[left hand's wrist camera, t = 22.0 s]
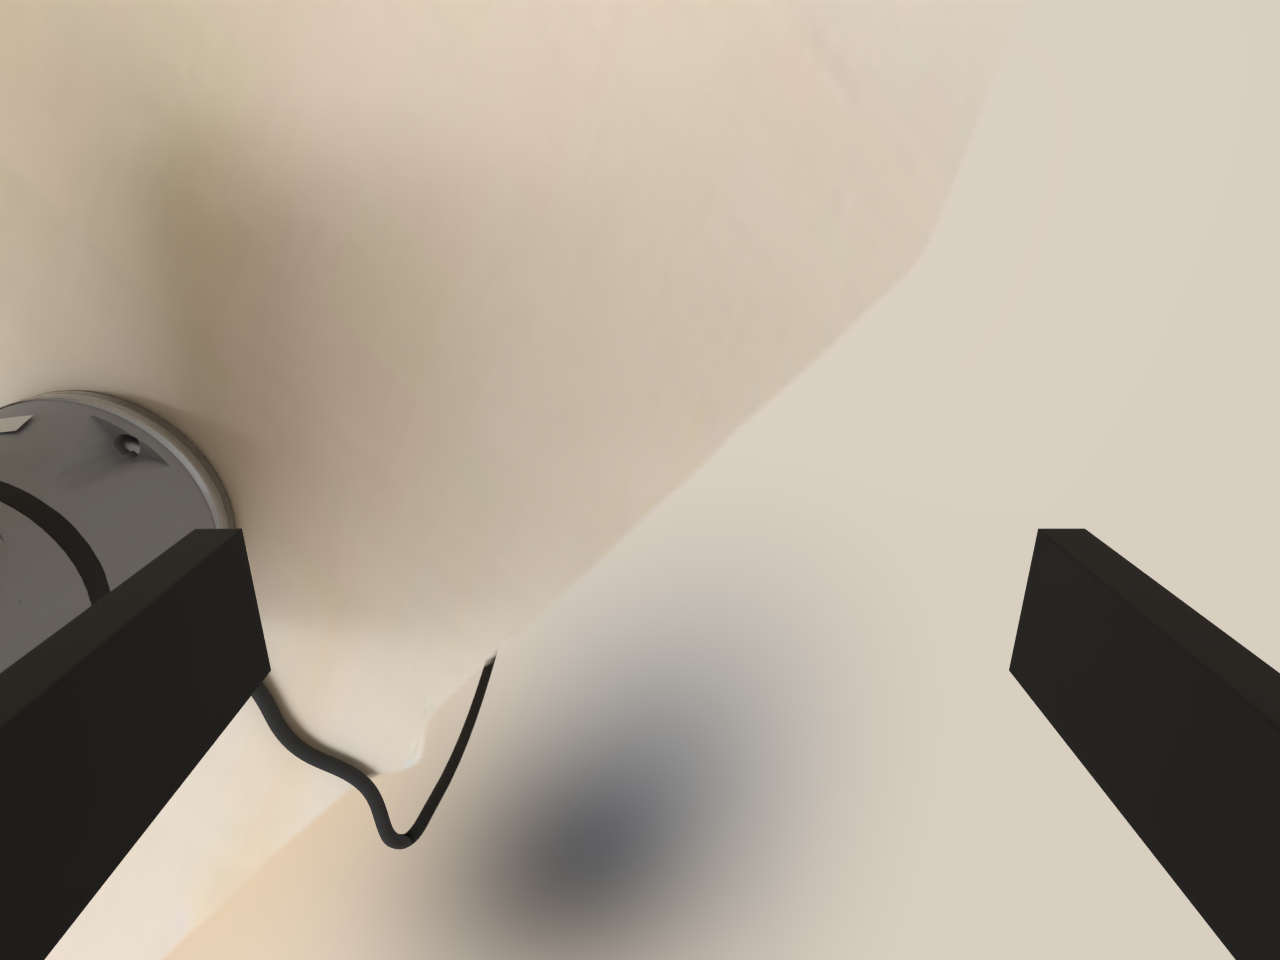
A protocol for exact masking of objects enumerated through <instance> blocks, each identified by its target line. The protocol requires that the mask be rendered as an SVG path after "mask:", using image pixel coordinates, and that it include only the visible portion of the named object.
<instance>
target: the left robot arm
mask: <svg viewBox="0 0 1280 960" xmlns="http://www.w3.org/2000/svg"><path fill="white" fill-rule="evenodd" d="M496 656H497V654H496V655H495V656H494V657H492V658H491V659H489V660H488V661H487V662H486V664H485V665H484V668H483V671H482V674H481V677H480V680H479V683H478V686H477V689H476V693H475V695H474V698H473V701H472V704H471V707H470V710H469V713H468V715H467V718H466V720H465V723H464V726H463V728H462V731H461V733H460V736H459V738H458V740H457V743H456V745H455V747H454V750H453V752H452V754H451V756H450V758H449V761H448V763H447V765H446V767H445V769H444V771H443V773H442V775H441V777H440V779H439V780H438V782H437V784H436V786H435V787H434V789H433V791H432V793H431V795H430V796H429V798H428V800H427V802H426V803H425V805H424V807H423V809H422V810H421V812H420V814H419V816H418V818H417V819H416V821H415V823H414V824H413V826H412V827H411V828H410V829H409V830H408V831H407V832H406V833H405V834H397V833H396V832H395V831H394V829H393V827H392V825H391V822H390V819H389V816H388V812H387V809H386V806H385V803H384V801H383V798H382V796H381V794H380V792H379V791H378V789H377V787H376V786H375V784H374V783H373V782H372V781H371V780H370V779H369V778H368V777H367V776H366V775H365V774H363V773H362V772H361V771H359V770H358V769H356V768H355V767H353V766H351V765H349V764H347V763H345V762H343V761H341V760H339V759H336V758H334V757H332V756H329V755H327V754H325V753H322V752H320V751H318V750H316V749H314V748H313V747H311V746H309V745H308V744H306V743H305V742H304V741H302V740H301V739H300V738H299V737H298V736H297V735H296V734H295V733H294V732H293V731H292V730H291V729H290V727H289V726H288V725H287V723H286V722H285V720H284V719H283V717H282V715H281V713H280V711H279V709H278V707H277V705H276V703H275V702H274V700H273V698H272V696H271V694H270V693H269V691H268V690H267V688H266V687H265V685H264V684H263V683H262V681H263V680H264V678H265V677H266V676H267V675H268V673H269V672H270V671H271V668H270V663H269V659H268V654H267V649H266V644H265V639H264V634H263V629H262V625H261V620H260V615H259V610H258V605H257V600H256V595H255V591H254V586H253V581H252V576H251V571H250V566H249V562H248V557H247V552H246V547H245V542H244V537H243V532H242V529H235V523H234V518H233V513H232V509H231V505H230V502H229V499H228V497H227V494H226V491H225V489H224V487H223V485H222V483H221V481H220V479H219V478H218V476H217V474H216V473H215V471H214V469H213V468H212V466H211V465H210V464H209V462H208V461H207V460H206V458H205V457H204V456H203V455H202V453H201V452H200V451H199V450H198V449H197V448H196V447H195V446H194V445H193V444H192V443H191V442H190V441H189V440H188V439H187V438H186V437H185V436H184V435H183V434H182V433H180V432H179V431H178V430H177V429H176V428H174V427H173V426H172V425H170V424H169V423H167V422H166V421H164V420H163V419H161V418H160V417H158V416H156V415H155V414H153V413H151V412H150V411H148V410H146V409H144V408H142V407H140V406H138V405H135V404H133V403H130V402H128V401H125V400H122V399H119V398H116V397H112V396H109V395H104V394H99V393H93V392H86V391H57V392H51V393H45V394H41V395H37V396H34V397H30V398H27V399H24V400H21V401H18V402H15V403H12V404H9V405H6V406H4V407H1V408H0V960H44V959H45V958H46V957H47V956H48V954H49V953H50V952H51V950H52V949H53V948H54V947H55V945H56V944H57V943H58V942H59V940H60V939H61V938H62V936H63V935H64V934H65V933H66V931H67V930H68V929H69V927H70V926H71V925H72V924H73V922H74V921H75V920H76V919H77V917H78V916H79V915H80V913H81V912H82V911H83V910H84V908H85V907H86V906H87V905H88V903H89V902H90V901H91V899H92V898H93V897H94V896H95V894H96V893H97V892H98V890H99V889H100V888H101V887H102V885H103V884H104V883H105V882H106V880H107V879H108V878H109V876H110V875H111V874H112V873H113V871H114V870H115V869H116V867H117V866H118V865H119V864H120V862H121V861H122V860H123V859H124V857H125V856H126V855H127V853H128V852H129V851H130V850H131V848H132V847H133V846H134V844H135V843H136V842H137V841H138V839H139V838H140V837H141V836H142V834H143V833H144V832H145V830H146V829H147V828H148V827H149V825H150V824H151V823H152V821H153V820H154V819H155V818H156V816H157V815H158V814H159V813H160V811H161V810H162V809H163V807H164V806H165V805H166V804H167V802H168V801H169V800H170V799H171V797H172V796H173V795H174V793H175V792H176V791H177V790H178V788H179V787H180V786H181V784H182V783H183V782H184V781H185V779H186V778H187V777H188V776H189V774H190V773H191V772H192V770H193V769H194V768H195V767H196V765H197V764H198V763H199V761H200V760H201V759H202V758H203V756H204V755H205V754H206V753H207V751H208V750H209V749H210V747H211V746H212V745H213V744H214V742H215V741H216V740H217V738H218V737H219V736H220V735H221V733H222V732H223V731H224V730H225V728H226V727H227V726H228V724H229V723H230V722H231V721H232V719H233V718H234V717H235V716H236V714H237V713H238V712H239V710H240V709H241V708H242V707H243V705H244V704H245V703H246V701H247V700H248V699H249V698H250V696H252V697H253V699H254V700H255V702H256V703H257V705H258V707H259V708H260V710H261V712H262V714H263V716H264V718H265V720H266V722H267V724H268V725H269V727H270V729H271V730H272V732H273V733H274V735H275V736H276V738H277V739H278V740H279V741H280V742H281V743H282V745H283V746H284V747H285V748H287V749H288V750H289V751H290V752H291V753H292V754H294V755H295V756H297V757H298V758H300V759H301V760H303V761H305V762H306V763H308V764H310V765H312V766H315V767H317V768H319V769H321V770H324V771H326V772H329V773H331V774H333V775H336V776H338V777H340V778H342V779H344V780H345V781H347V782H349V783H350V784H352V785H353V786H354V787H355V788H357V789H358V790H359V791H360V792H361V793H362V794H363V796H364V797H365V799H366V800H367V802H368V804H369V806H370V808H371V811H372V814H373V817H374V820H375V824H376V827H377V829H378V832H379V835H380V837H381V839H382V840H383V842H384V843H385V844H386V845H387V846H389V847H391V848H394V849H404V848H407V847H409V846H411V845H412V844H414V843H415V842H416V841H417V840H418V839H419V838H420V836H421V835H422V834H423V832H424V831H425V829H426V827H427V825H428V824H429V822H430V820H431V818H432V816H433V814H434V812H435V810H436V809H437V807H438V805H439V803H440V801H441V799H442V797H443V796H444V794H445V792H446V790H447V788H448V786H449V784H450V782H451V780H452V778H453V776H454V774H455V772H456V769H457V767H458V765H459V763H460V761H461V758H462V756H463V753H464V751H465V748H466V746H467V744H468V741H469V739H470V736H471V733H472V730H473V728H474V725H475V722H476V719H477V716H478V714H479V711H480V708H481V705H482V702H483V699H484V695H485V692H486V689H487V686H488V682H489V679H490V676H491V673H492V669H493V666H494V662H495V659H496ZM1009 671H1010V672H1011V673H1012V675H1013V676H1014V677H1015V678H1016V680H1017V681H1018V682H1019V684H1020V685H1021V686H1022V687H1023V689H1024V690H1025V691H1026V693H1027V694H1028V695H1029V696H1030V698H1031V699H1032V700H1033V701H1034V703H1035V704H1036V705H1037V707H1038V708H1039V709H1040V710H1041V712H1042V713H1043V714H1044V716H1045V717H1046V718H1047V719H1048V720H1049V722H1050V723H1051V724H1052V726H1053V727H1054V728H1055V730H1056V731H1057V732H1058V733H1059V735H1060V736H1061V737H1062V738H1063V740H1064V741H1065V742H1066V744H1067V745H1068V746H1069V747H1070V749H1071V750H1072V751H1073V753H1074V754H1075V755H1076V756H1077V758H1078V759H1079V760H1080V761H1081V763H1082V764H1083V765H1084V767H1085V768H1086V769H1087V770H1088V772H1089V773H1090V774H1091V776H1092V777H1093V778H1094V779H1095V781H1096V782H1097V783H1098V784H1099V786H1100V787H1101V788H1102V790H1103V791H1104V792H1105V793H1106V795H1107V796H1108V797H1109V799H1110V800H1111V801H1112V802H1113V804H1114V805H1115V806H1116V807H1117V809H1118V810H1119V811H1120V812H1121V814H1122V815H1123V816H1124V818H1125V819H1126V820H1127V822H1128V823H1129V824H1130V825H1131V827H1132V828H1133V829H1134V830H1135V832H1136V833H1137V834H1138V836H1139V837H1140V838H1141V839H1142V841H1143V842H1144V843H1145V844H1146V846H1147V847H1148V848H1149V850H1150V851H1151V852H1152V853H1153V855H1154V856H1155V857H1156V859H1157V860H1158V861H1159V862H1160V864H1161V865H1162V866H1163V867H1164V869H1165V870H1166V871H1167V873H1168V874H1169V875H1170V876H1171V878H1172V879H1173V880H1174V882H1175V883H1176V884H1177V885H1178V887H1179V888H1180V889H1181V890H1182V892H1183V893H1184V894H1185V896H1186V897H1187V898H1188V899H1189V901H1190V902H1191V903H1192V905H1193V906H1194V907H1195V908H1196V910H1197V911H1198V912H1199V913H1200V915H1201V916H1202V917H1203V919H1204V920H1205V921H1206V922H1207V924H1208V925H1209V926H1210V927H1211V929H1212V930H1213V931H1214V933H1215V934H1216V935H1217V936H1218V938H1219V939H1220V940H1221V942H1222V943H1223V944H1224V945H1225V947H1226V948H1227V949H1228V950H1229V952H1230V953H1231V954H1232V956H1233V957H1234V958H1235V959H1236V960H1280V673H1279V672H1277V671H1276V670H1275V669H1273V668H1272V667H1270V666H1269V665H1268V664H1266V663H1265V662H1264V661H1262V660H1261V659H1260V658H1258V657H1257V656H1256V655H1254V654H1253V653H1252V652H1250V651H1249V650H1248V649H1246V648H1245V647H1243V646H1242V645H1241V644H1239V643H1238V642H1237V641H1235V640H1234V639H1233V638H1231V637H1230V636H1229V635H1227V634H1226V633H1225V632H1223V631H1222V630H1221V629H1219V628H1218V627H1217V626H1215V625H1214V624H1213V623H1211V622H1210V621H1208V620H1207V619H1206V618H1204V617H1203V616H1202V615H1200V614H1199V613H1198V612H1196V611H1195V610H1194V609H1192V608H1191V607H1190V606H1188V605H1187V604H1186V603H1184V602H1183V601H1182V600H1180V599H1179V598H1177V597H1176V596H1175V595H1173V594H1172V593H1171V592H1169V591H1168V590H1167V589H1165V588H1164V587H1163V586H1161V585H1160V584H1159V583H1157V582H1156V581H1155V580H1153V579H1152V578H1150V577H1149V576H1148V575H1146V574H1145V573H1144V572H1142V571H1141V570H1140V569H1138V568H1137V567H1136V566H1134V565H1133V564H1132V563H1130V562H1129V561H1128V560H1126V559H1125V558H1123V557H1122V556H1121V555H1119V554H1118V553H1117V552H1115V551H1114V550H1113V549H1111V548H1110V547H1109V546H1107V545H1106V544H1105V543H1103V542H1102V541H1101V540H1099V539H1098V538H1097V537H1095V536H1094V535H1092V534H1091V533H1090V532H1088V531H1087V530H1086V529H1038V532H1037V537H1036V542H1035V547H1034V552H1033V557H1032V562H1031V567H1030V571H1029V576H1028V581H1027V586H1026V591H1025V596H1024V600H1023V605H1022V610H1021V615H1020V620H1019V625H1018V629H1017V634H1016V639H1015V644H1014V649H1013V654H1012V659H1011V663H1010V668H1009Z"/></svg>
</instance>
